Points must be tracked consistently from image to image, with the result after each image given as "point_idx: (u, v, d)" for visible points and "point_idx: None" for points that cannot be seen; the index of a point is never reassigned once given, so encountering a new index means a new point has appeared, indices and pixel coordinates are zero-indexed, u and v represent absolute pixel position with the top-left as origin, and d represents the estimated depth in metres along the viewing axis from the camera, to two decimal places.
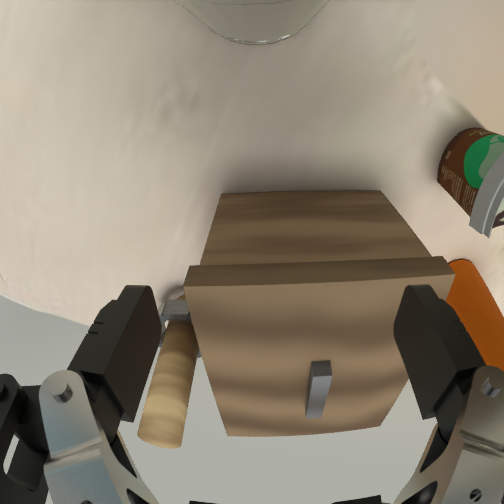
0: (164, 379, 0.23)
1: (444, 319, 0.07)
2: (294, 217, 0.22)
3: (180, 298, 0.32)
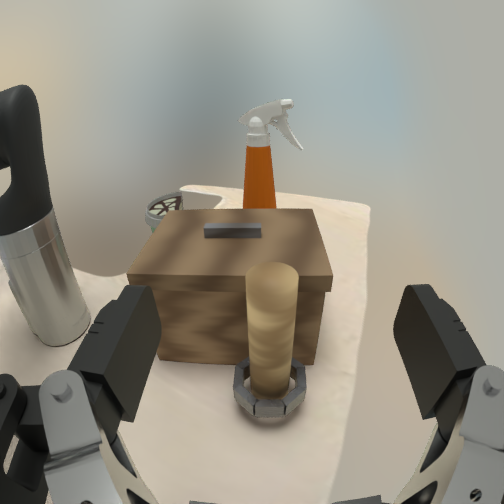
0: None
1: (444, 319, 0.07)
2: None
3: None
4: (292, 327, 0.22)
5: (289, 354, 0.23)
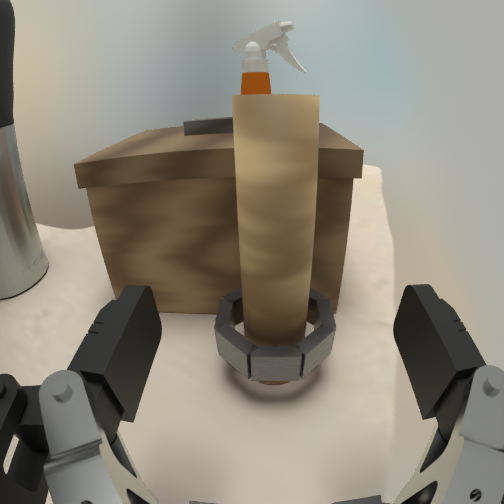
0: None
1: (444, 319, 0.07)
2: None
3: None
4: (313, 189, 0.13)
5: (309, 252, 0.14)
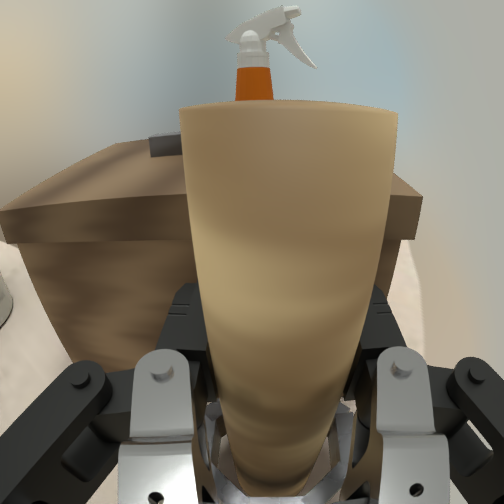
0: None
1: None
2: None
3: (239, 482, 0.12)
4: (363, 323, 0.06)
5: (337, 405, 0.07)
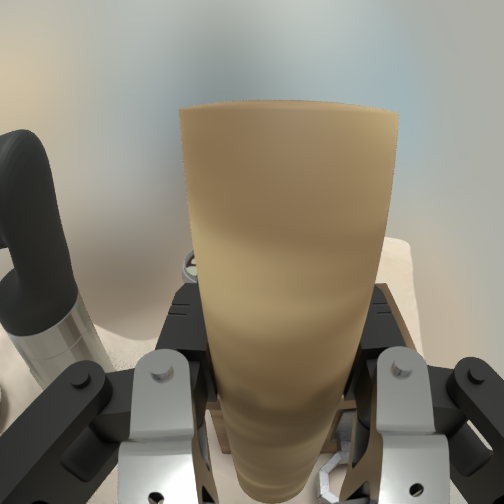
0: None
1: None
2: None
3: (239, 483, 0.12)
4: (363, 323, 0.06)
5: (337, 405, 0.07)
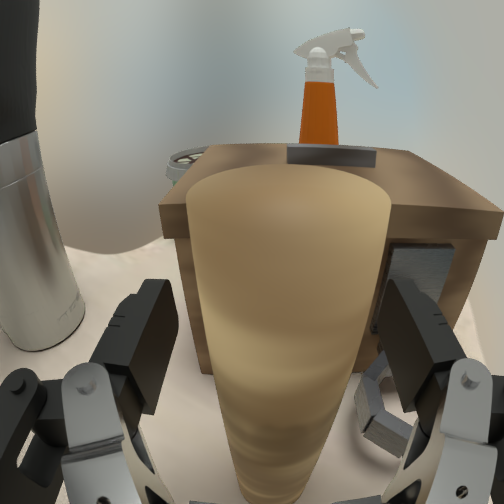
0: None
1: (424, 312, 0.07)
2: None
3: (241, 491, 0.13)
4: (350, 372, 0.06)
5: (328, 432, 0.08)
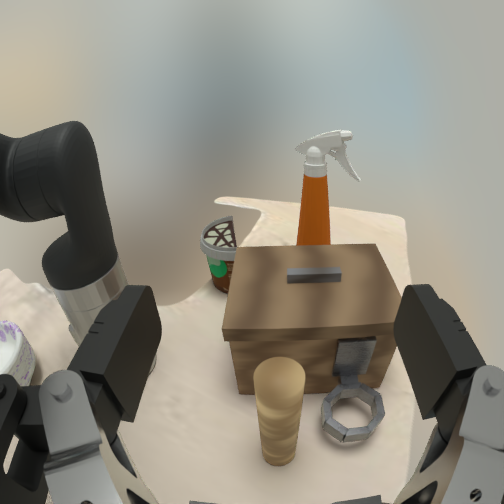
0: None
1: (444, 319, 0.07)
2: None
3: (263, 456, 0.28)
4: (299, 412, 0.21)
5: (296, 428, 0.23)
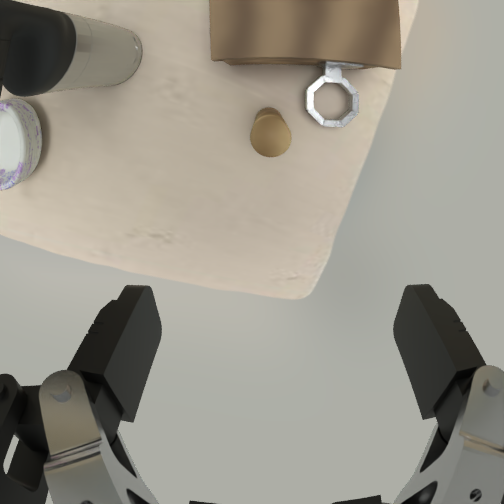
0: None
1: (444, 319, 0.07)
2: None
3: None
4: None
5: None
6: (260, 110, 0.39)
